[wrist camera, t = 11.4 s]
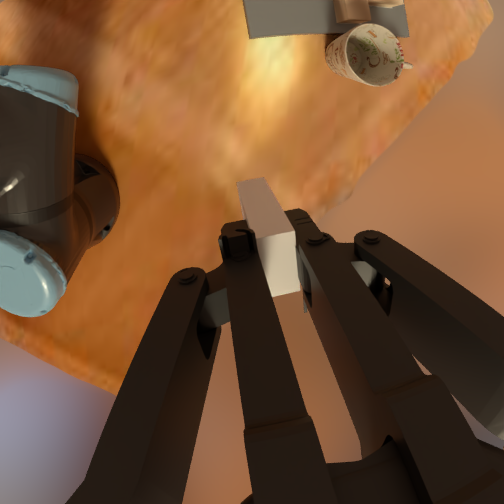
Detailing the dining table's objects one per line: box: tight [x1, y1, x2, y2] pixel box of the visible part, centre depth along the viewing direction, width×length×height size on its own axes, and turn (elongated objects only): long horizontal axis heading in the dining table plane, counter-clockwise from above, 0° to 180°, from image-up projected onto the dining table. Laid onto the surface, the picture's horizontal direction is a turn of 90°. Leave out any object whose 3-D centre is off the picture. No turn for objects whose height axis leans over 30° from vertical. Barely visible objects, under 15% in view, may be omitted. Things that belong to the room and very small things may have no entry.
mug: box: [325, 23, 413, 86], centre depth 35 cm, size 8×13×10 cm, turn 92°
